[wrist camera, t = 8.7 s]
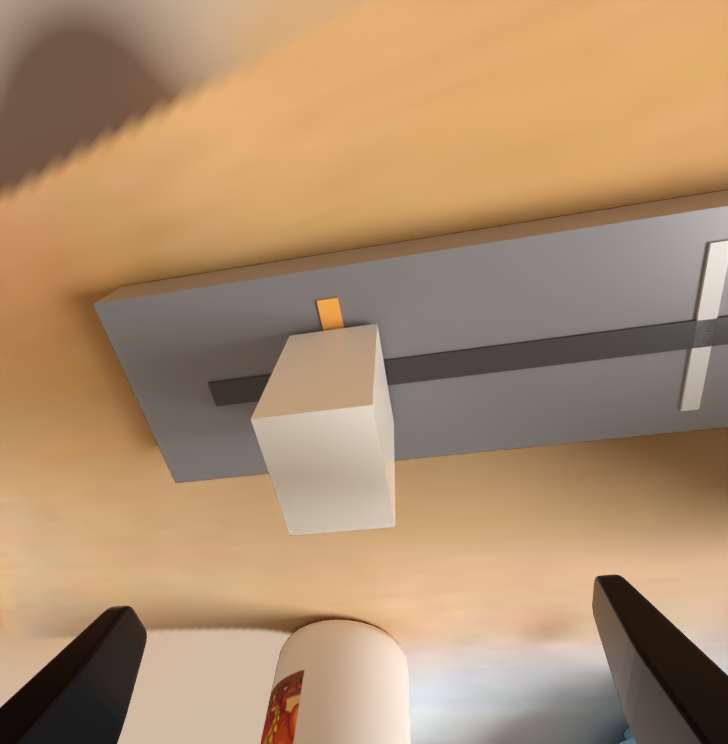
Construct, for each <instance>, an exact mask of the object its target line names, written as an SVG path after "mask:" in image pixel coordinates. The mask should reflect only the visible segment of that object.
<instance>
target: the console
mask: <svg viewBox="0 0 728 744" xmlns="http://www.w3.org/2000/svg"><path fill="white" fill-rule="evenodd" d="M93 307H94V309H95V311H96V313H97V315H98V317H99V320H100V322H101V324H102V326H103V328H104V330H105V332H106V335H107V337H108V339H109V341H110V343H111V345H112V347H113V350H114V352H115V354H116V356H117V358H118V360H119V363H120V365H121V367H122V369H123V371H124V373H125V375H126V378H127V380H128V382H129V384H130V386H131V388H132V390H133V393H134V395H135V397H136V399H137V401H138V403H139V406H140V408H141V410H142V412H143V414H144V416H145V418H146V421H147V423H148V425H149V427H150V429H151V431H152V433H153V436H154V438H155V440H156V442H157V444H158V446H159V449H160V451H161V453H162V455H163V457H164V459H165V461H166V464H167V466H168V468H169V470H170V472H171V474H172V476H173V479H174V481H175V483H182V482H191V481H201V480H211V479H221V478H231V477H241V476H251V475H260V474H269V472H268V469H267V466H266V463H265V460H264V457H263V454H262V451H261V448H260V445H259V442H258V440H257V437H256V434H255V431H254V428H253V425H252V422H251V417H252V415H253V413H254V411H255V409H256V407H257V404H258V402H259V400H260V398H261V396H262V394H263V392H264V389H265V387H266V385H267V383H268V381H269V379H270V377H271V374H272V372H273V370H274V368H275V366H276V364H277V362H278V359H279V357H280V355H281V353H282V351H283V349H284V347H285V344H286V342H287V340H288V338H289V336H291V335H298V334H306V333H313V332H320V331H327V330H335V329H342V328H349V327H356V326H363V325H371V324H377V325H378V331H379V337H380V343H381V349H382V355H383V361H384V367H385V373H386V379H387V385H388V391H389V397H390V403H391V409H392V415H393V420H394V461H398V460H408V459H418V458H428V457H438V456H447V455H457V454H467V453H477V452H487V451H497V450H507V449H516V448H526V447H536V446H546V445H556V444H566V443H575V442H585V441H595V440H605V439H615V438H625V437H635V436H644V435H654V434H664V433H674V432H684V431H694V430H703V429H713V428H723V427H728V190H723V191H717V192H711V193H704V194H698V195H692V196H686V197H679V198H673V199H667V200H660V201H654V202H648V203H642V204H635V205H629V206H623V207H616V208H610V209H604V210H598V211H591V212H585V213H579V214H572V215H566V216H560V217H554V218H547V219H541V220H535V221H528V222H522V223H516V224H510V225H503V226H497V227H491V228H484V229H478V230H472V231H466V232H459V233H453V234H447V235H440V236H434V237H428V238H422V239H415V240H409V241H403V242H396V243H390V244H384V245H378V246H371V247H365V248H359V249H352V250H346V251H340V252H334V253H327V254H321V255H315V256H308V257H302V258H296V259H290V260H283V261H277V262H271V263H264V264H258V265H252V266H246V267H239V268H233V269H227V270H220V271H214V272H208V273H202V274H195V275H189V276H183V277H176V278H170V279H164V280H158V281H151V282H145V283H139V284H132V285H126V286H122V287H120V288H118V289H117V290H115V291H113V292H112V293H110V294H109V295H107V296H105V297H104V298H102V299H101V300H99V301H97V302H96V303H94V304H93Z"/></svg>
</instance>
